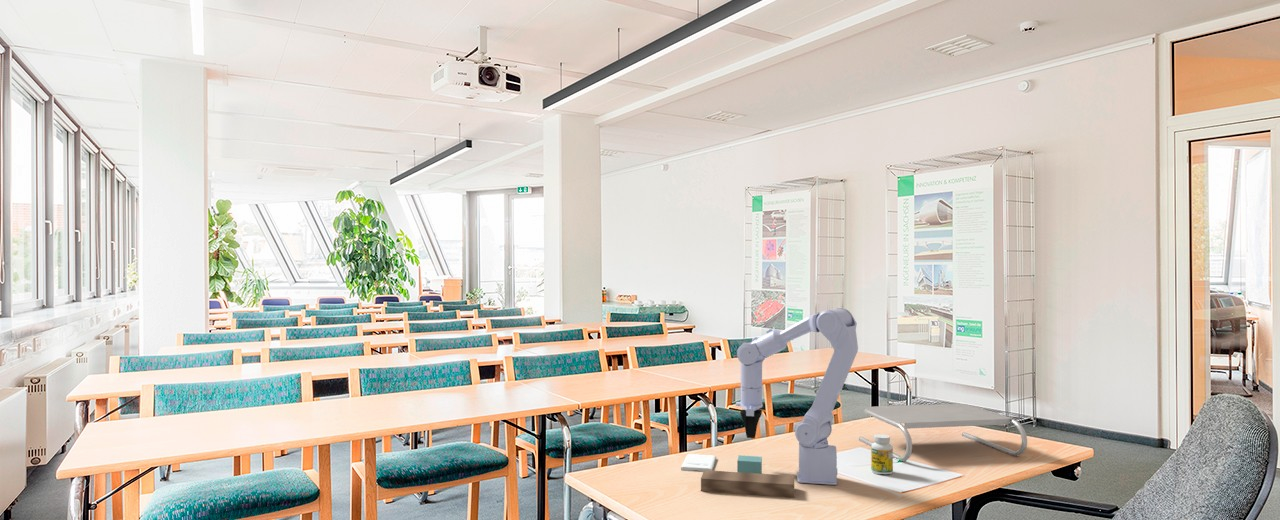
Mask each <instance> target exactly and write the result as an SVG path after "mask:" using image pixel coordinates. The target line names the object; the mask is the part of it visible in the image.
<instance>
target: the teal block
mask: <svg viewBox="0 0 1280 520" xmlns="http://www.w3.org/2000/svg"><path fill="white" fill-rule="evenodd" d="M736 467H737V469H736V470H737V471H736V472H742V473H758V474H763V473H762V471H763V468H762V467H763V456H757V455H756V456H755V455H753V456H752V455H738V456H737V466H736Z"/></svg>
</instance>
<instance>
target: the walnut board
mask: <svg viewBox="0 0 1280 520" xmlns="http://www.w3.org/2000/svg"><path fill="white" fill-rule="evenodd" d="M700 492H710V493H711V492H712V493H724V494H737V495H738V494H739V495H751V496H767V497H769V496H770V497H780V498H781V497H783V498H784V497H785V498H795V476H794V475H790V474H789V475H787V474H770V473H762V474H758V473H742V472H737V471H723V470H712V471H711V470H704V472H703V471H702V474H701V477H700Z"/></svg>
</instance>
